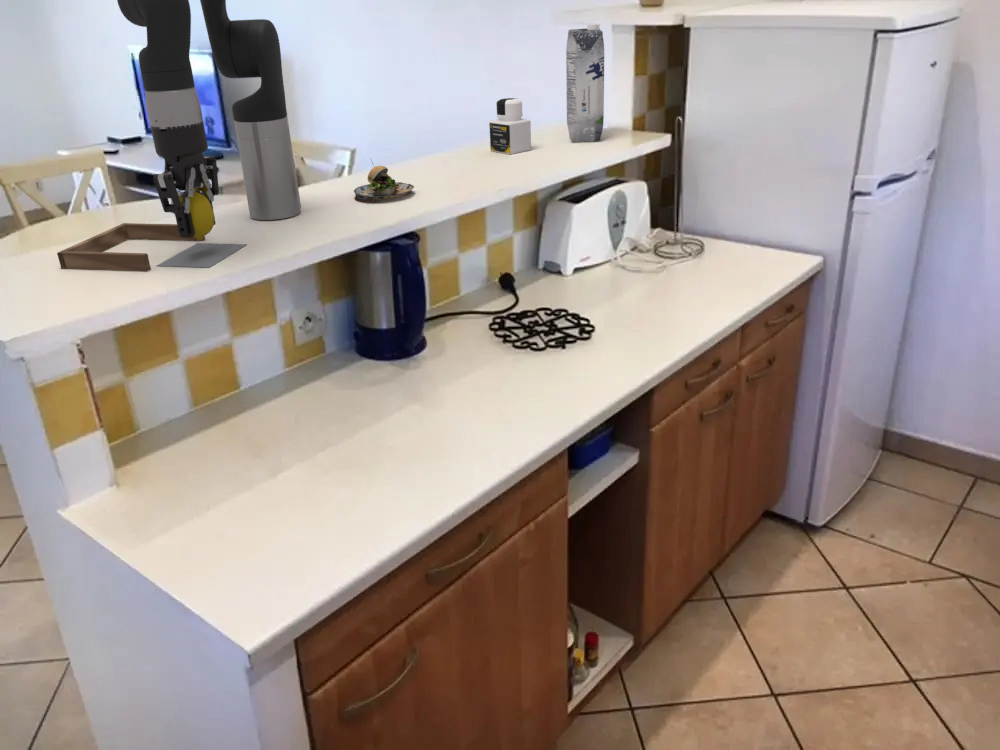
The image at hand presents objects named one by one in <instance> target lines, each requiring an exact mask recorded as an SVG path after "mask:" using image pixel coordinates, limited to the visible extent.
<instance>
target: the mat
mask: <svg viewBox="0 0 1000 750" xmlns="http://www.w3.org/2000/svg"><path fill="white" fill-rule="evenodd" d="M246 246H247V244H246V243H216V242H215V243H212V242H211V243H210V242H208V243H207V242H206V243H205V242H196V243H195V244H193V245H192V246H191V245H190V247H188V248H186V249H184V250H182V251H180V252H178V253H177V254H175V255H173V256H172V257H169V258H168V259H166V260H164V261H162V262H160V263H158V264H157V265H155V266H156V267H169V266H170V268H171V267H174V268H175V267H176V268H200V269H201V268H206V269H210V268H212V267H213V266H215V265H217V264H218V263H219V262H221V261H223V260H224V259H226V258H229V256H231V255H232V254H234V253H236V252H238V251H239V250H241V249H242V248H244V247H246Z"/></svg>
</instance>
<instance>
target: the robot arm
mask: <svg viewBox="0 0 1000 750" xmlns="http://www.w3.org/2000/svg"><path fill="white" fill-rule="evenodd" d="M116 1H117V5H118V7H119V10H120V12H121V14H122V15H123V17H124V18H126V20H127V21H129V22H130V23H131V24H133V25H134V26H137V27H145V28H146V39H147V40H146V42H147V43H146V46H145V47H143V48H142V49H141V50H140V51H139V53H138V63H139V69H140V70H139V71H140V74H141V80H142V84H143V89H144V94H145V105H146V112H147V117H148V121H149V125H150V131H151V135H152V141H153V146H154V149H155V153H156V154H157V156H159V157H162V159H164V171H163V172H161V173H155V174H153V176H152V179H153V182H154V185H155V189H156V191H157V194H158V197H159V200H160V203H161V206H162V210H163V211H164V212H165V213H171V214H173V215H174V217H175V221H176V224H177V225H178V231H179V233H180V236H181V237H186V238H191V237H193V236H194V235H195V232H194V227H193V222H192V217H191V213H189V212H190V199H191V198H192V197H193V191H194V192H198V193H200V194H202V195H204V196H205V197H206V198H207V199H208V201H209V202H210V204H211V206H212V209H213V210H214V206H213V202H214V200H215V198H214V197H215V196H218V195H219V194H220V189H219V178H218V167H217V166H218V165H217V158H216V157H215V156H204V154H203V153H205V152H206V151H208V150H209V149H208V148H209V144H208V140H207V133H206V129H205V123H204V117H203V113H202V112H203V111H202V108H201V102H200V100H199V95H198V93H197V89H196V87H195V86H196V85H195V80H194V74H193V70H192V69H193V68H192V64H191V60H190V59H191V58H190V49H191V34H192V32H191V31H192V28H191V27H192V26H191V25H192V13H191V5H190V1H189V0H116ZM199 1H200V7H201V10H202V14H203V18H204V24H205V29H206V32H207V35H208V36H207V37H208V41H209V44H210V45H209V46H210V49H211V53H212V57H213V60H214V62H215V65H216V67H217V70H218V71H219V72H220V75H222V76H223V77H225V78H228V79H249V78H250V79H251V78H260V87H259V88H257V90H255V92H253V93H252V94H250V95H248V96H246V97H244V98H241V99H239V100H236V101H235V102H234V103H233V104H232V105H231V111H232V118H233V122H234V123H233V124H234V128H235V135H236V139H237V147H238V152H239V157H240V164H241V169H242V176H243V182H244V187H245V193H246V200H247V205H248V211H249V217H250V218H252V219H254V220H261V221H272V220H281V219H282V220H283V219H287V218H291V217H295V216H298V215H299V214H300V213H301V212H302V204H301V197H300V190H299V183H298V178H297V177H298V176H297V169H296V163H295V162H296V161H295V158H294V152H293V151H294V150H293V145H292V144H293V143H292V139H291V138H292V137H291V133H290V125H289V119H288V112H287V111H288V110H287V103H286V102H287V101H286V94H285V92H286V91H285V85H284V78H283V77H284V76H283V67H282V55H281V45H280V39H279V35H278V31H277V29H276V27H275V24H274V23H273V22H272V21H271V20H268V19H264V18H263V19H261V18H259V19H256V18H255V19H237V20H236V19H235V20H234V19H233V20H231V19H230V18H229V14H228V11H227V5H226V4H227V2H226V1H227V0H199ZM210 181H211V182H210ZM179 198H183V205H181V202H180V199H179ZM169 199H170V200H169ZM215 225H216V217H215V215H214V225H213V227H214V226H215Z"/></svg>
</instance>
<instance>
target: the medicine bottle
mask: <svg viewBox="0 0 1000 750" xmlns="http://www.w3.org/2000/svg"><path fill="white" fill-rule="evenodd" d="M522 117H523V101H522V100H521V99H519V98H517V97H511V98H510V97H508V98H500V99H499V100H497V101H496V118H498V119H494V120H490V121H489V122H488V123H489V125H488V126H489V142H490V143H489V145H490V152H493V153H499V154H503V155H504V154H505V155H515V154H519V153H524V152H528V151H531V150H532V135H531V134H532V132H531V131H532V123H531V120H530V119H527V118H522Z"/></svg>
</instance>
